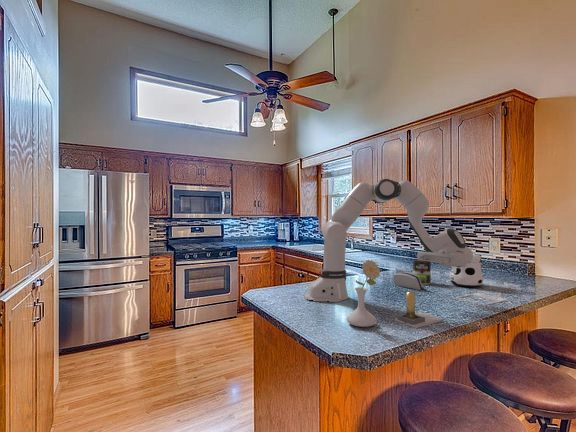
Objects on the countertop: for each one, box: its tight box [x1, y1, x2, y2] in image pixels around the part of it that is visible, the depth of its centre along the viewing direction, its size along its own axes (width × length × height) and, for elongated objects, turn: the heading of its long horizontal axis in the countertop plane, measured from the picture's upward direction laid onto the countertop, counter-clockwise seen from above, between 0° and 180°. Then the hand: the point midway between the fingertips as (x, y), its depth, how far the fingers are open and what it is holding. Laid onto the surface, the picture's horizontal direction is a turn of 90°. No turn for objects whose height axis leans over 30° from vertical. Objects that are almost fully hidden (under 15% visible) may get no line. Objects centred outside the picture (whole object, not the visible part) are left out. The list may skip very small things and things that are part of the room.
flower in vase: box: [345, 259, 381, 328], centre depth 119 cm, size 13×11×25 cm
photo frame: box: [455, 292, 508, 306], centre depth 153 cm, size 15×1×18 cm
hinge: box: [393, 271, 425, 291], centre depth 180 cm, size 17×5×10 cm, turn 35°
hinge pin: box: [405, 290, 416, 320], centre depth 121 cm, size 3×3×11 cm
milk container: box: [449, 253, 484, 288], centre depth 184 cm, size 17×17×18 cm
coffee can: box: [412, 258, 432, 286], centre depth 191 cm, size 10×10×14 cm
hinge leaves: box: [394, 311, 443, 329], centre depth 123 cm, size 16×10×2 cm, turn 120°
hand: (429, 259), depth 136 cm, fingers open, 8 cm apart
